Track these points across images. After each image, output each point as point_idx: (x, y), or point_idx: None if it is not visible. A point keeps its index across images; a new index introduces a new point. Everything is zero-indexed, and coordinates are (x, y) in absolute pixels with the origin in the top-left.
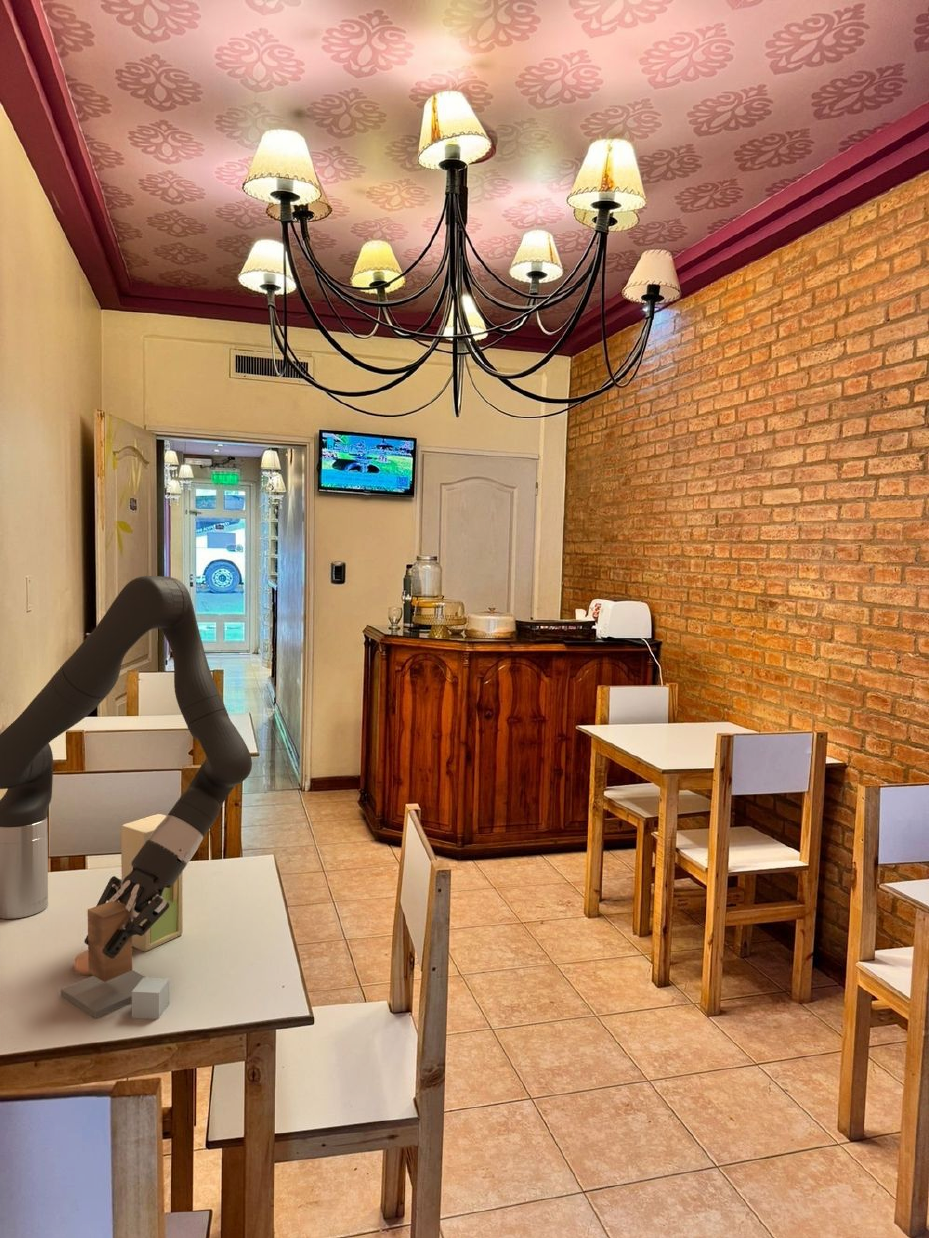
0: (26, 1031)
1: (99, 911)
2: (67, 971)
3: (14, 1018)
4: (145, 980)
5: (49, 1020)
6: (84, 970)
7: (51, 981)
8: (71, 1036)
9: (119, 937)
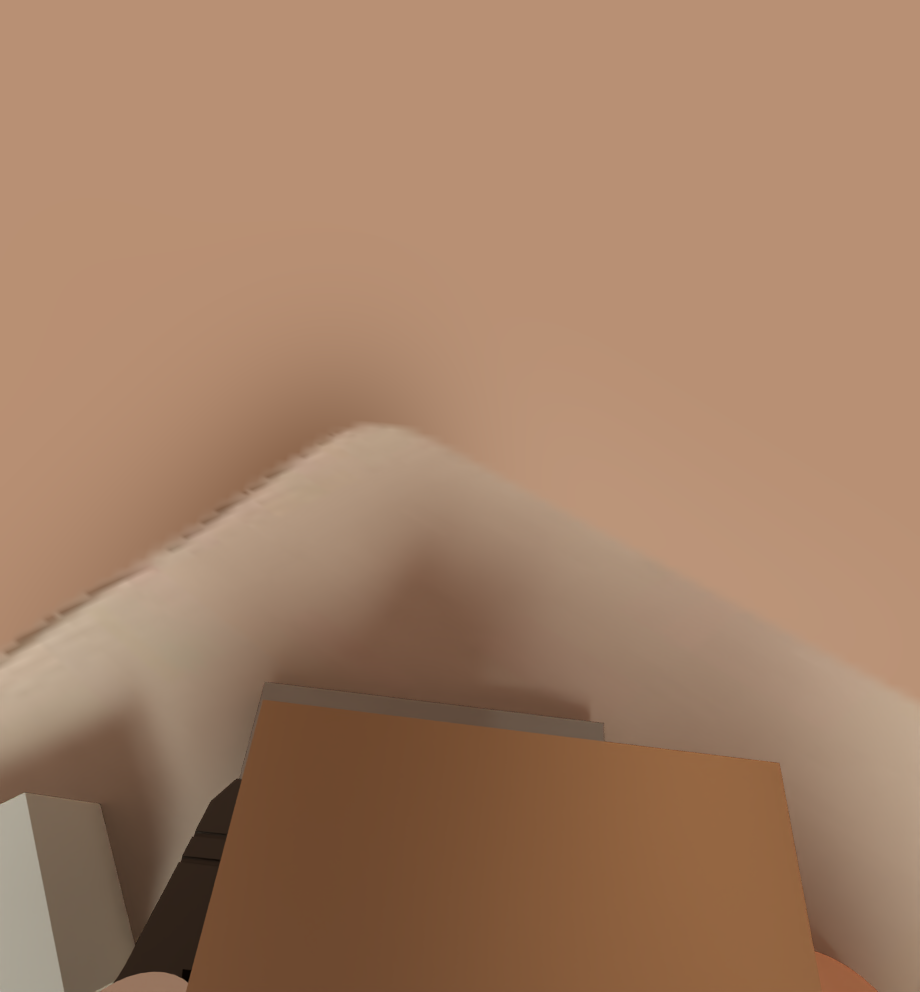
0: (445, 495)
1: (547, 834)
2: (814, 916)
3: (563, 523)
4: (17, 981)
5: (441, 578)
6: None
7: None
8: (260, 552)
9: (166, 915)
